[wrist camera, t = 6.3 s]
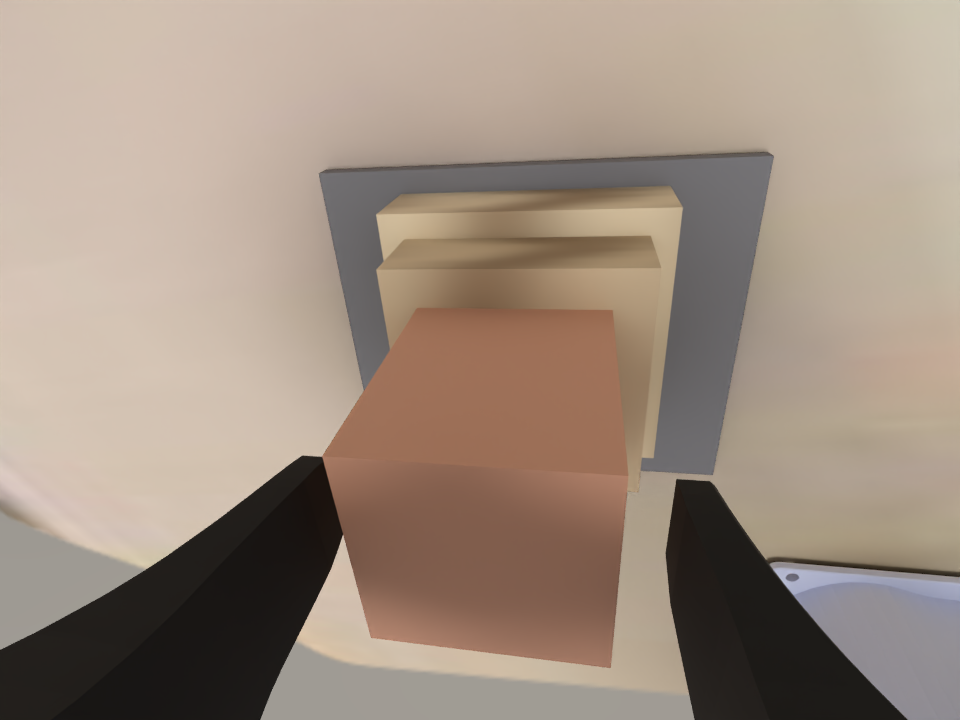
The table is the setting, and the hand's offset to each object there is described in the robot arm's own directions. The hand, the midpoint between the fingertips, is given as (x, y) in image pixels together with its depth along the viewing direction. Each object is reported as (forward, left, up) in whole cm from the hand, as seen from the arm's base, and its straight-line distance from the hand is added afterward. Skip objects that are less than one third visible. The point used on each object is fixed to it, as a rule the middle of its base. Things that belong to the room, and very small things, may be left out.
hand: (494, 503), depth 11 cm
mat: (0, +1, -10) cm, 10 cm away
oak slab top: (0, 0, -7) cm, 7 cm away
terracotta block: (0, 0, -4) cm, 4 cm away
